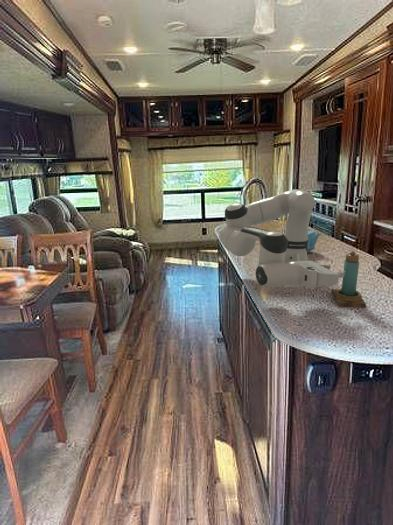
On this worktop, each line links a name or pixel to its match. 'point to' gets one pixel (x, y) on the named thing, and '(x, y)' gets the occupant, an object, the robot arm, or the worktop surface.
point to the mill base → (348, 299)
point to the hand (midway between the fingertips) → (335, 270)
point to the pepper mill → (350, 274)
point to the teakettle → (312, 239)
